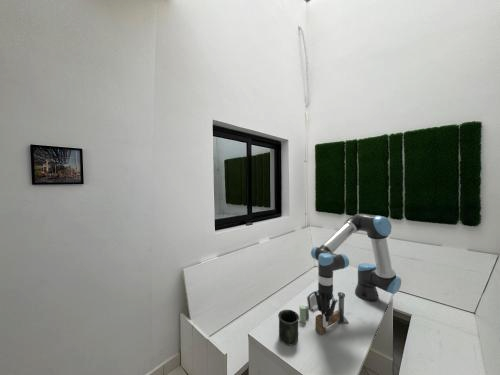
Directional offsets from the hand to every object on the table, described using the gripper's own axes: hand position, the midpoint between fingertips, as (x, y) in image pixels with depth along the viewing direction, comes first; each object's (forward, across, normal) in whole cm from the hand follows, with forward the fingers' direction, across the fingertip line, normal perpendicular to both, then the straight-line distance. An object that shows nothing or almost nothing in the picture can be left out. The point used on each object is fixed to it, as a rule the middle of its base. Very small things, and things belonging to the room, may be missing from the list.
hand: (325, 326), depth 108 cm
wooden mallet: (+5, +2, -7) cm, 9 cm away
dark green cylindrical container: (+5, +11, +16) cm, 20 cm away
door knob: (+5, +1, -19) cm, 19 cm away
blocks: (+5, +15, -2) cm, 16 cm away
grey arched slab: (+5, +18, -21) cm, 28 cm away
